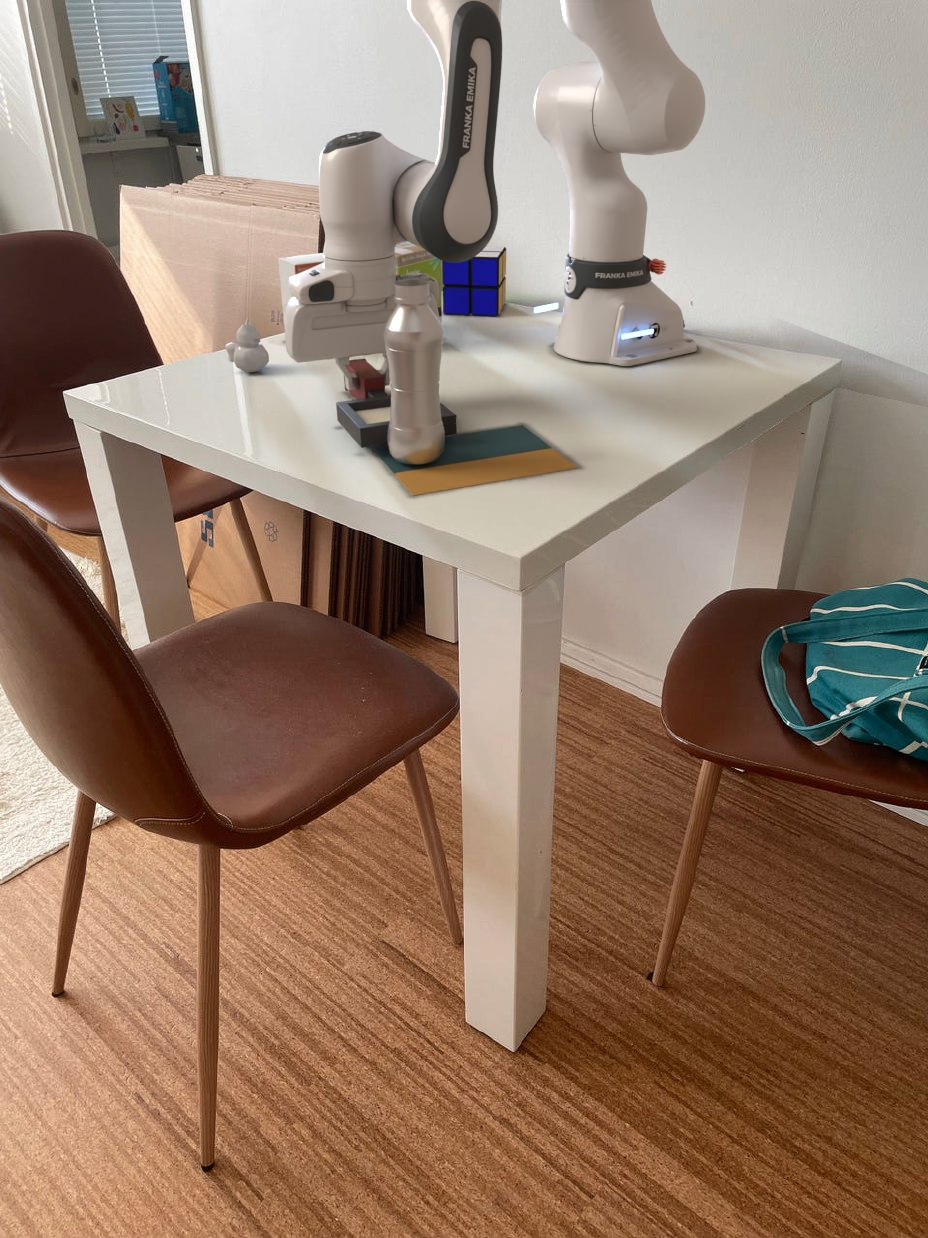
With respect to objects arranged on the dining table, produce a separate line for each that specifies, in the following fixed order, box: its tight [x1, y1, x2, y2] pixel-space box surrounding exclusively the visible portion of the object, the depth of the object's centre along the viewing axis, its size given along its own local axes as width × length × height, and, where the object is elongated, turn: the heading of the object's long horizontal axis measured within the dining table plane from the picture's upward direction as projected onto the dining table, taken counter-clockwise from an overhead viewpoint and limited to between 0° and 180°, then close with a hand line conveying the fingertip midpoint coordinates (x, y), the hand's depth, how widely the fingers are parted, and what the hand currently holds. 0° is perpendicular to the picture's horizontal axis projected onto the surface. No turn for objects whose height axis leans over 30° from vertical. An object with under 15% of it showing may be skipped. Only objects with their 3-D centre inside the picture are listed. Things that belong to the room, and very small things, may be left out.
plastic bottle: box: [383, 279, 446, 464], centre depth 104 cm, size 6×7×20 cm
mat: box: [372, 424, 578, 497], centre depth 110 cm, size 20×15×1 cm
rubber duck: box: [224, 316, 270, 373], centre depth 137 cm, size 5×7×8 cm
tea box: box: [395, 241, 443, 325], centre depth 150 cm, size 15×10×15 cm
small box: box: [277, 252, 324, 326], centre depth 148 cm, size 8×6×13 cm
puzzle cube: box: [441, 245, 507, 317], centre depth 167 cm, size 10×10×10 cm
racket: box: [335, 358, 458, 449], centre depth 119 cm, size 24×12×4 cm, turn 21°
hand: (367, 386), depth 124 cm, fingers closed on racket, 3 cm apart
